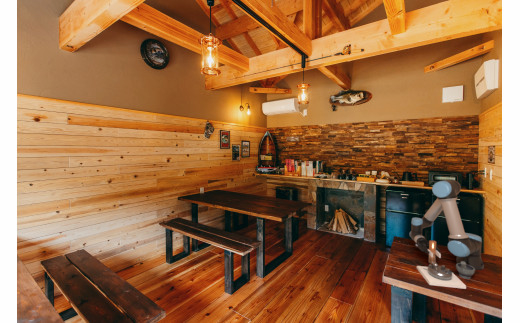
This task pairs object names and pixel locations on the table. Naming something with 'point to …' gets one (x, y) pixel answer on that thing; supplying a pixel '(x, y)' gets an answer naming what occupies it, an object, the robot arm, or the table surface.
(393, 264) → the table surface
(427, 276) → the base plate
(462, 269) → the mortar and pestle
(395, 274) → the table surface
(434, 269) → the crank handle
